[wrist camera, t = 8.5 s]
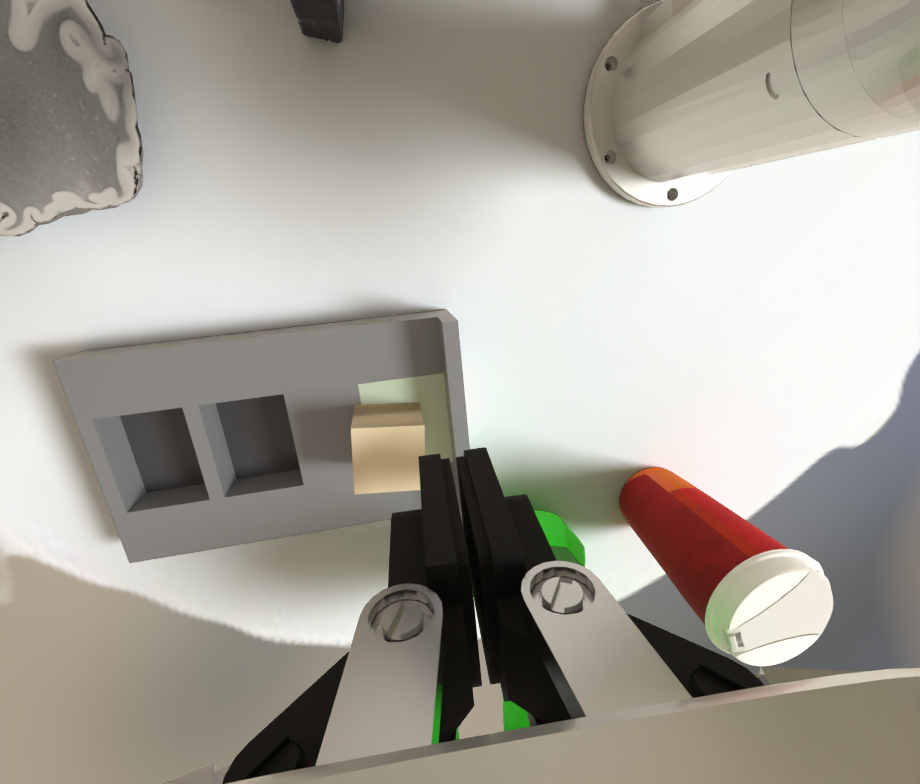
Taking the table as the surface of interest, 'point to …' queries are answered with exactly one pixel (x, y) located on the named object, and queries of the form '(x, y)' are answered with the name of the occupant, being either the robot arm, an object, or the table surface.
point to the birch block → (387, 447)
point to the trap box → (257, 427)
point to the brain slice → (63, 115)
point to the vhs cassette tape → (320, 18)
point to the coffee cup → (729, 570)
